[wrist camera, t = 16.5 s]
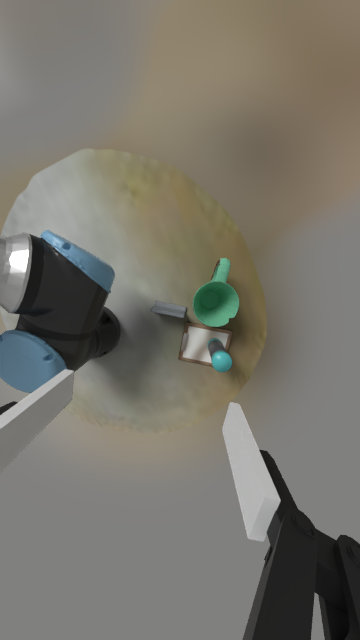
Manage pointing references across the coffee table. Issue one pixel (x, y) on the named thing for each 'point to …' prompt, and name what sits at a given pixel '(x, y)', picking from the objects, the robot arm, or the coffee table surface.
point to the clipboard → (201, 342)
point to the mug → (216, 298)
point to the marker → (219, 355)
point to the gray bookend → (169, 309)
